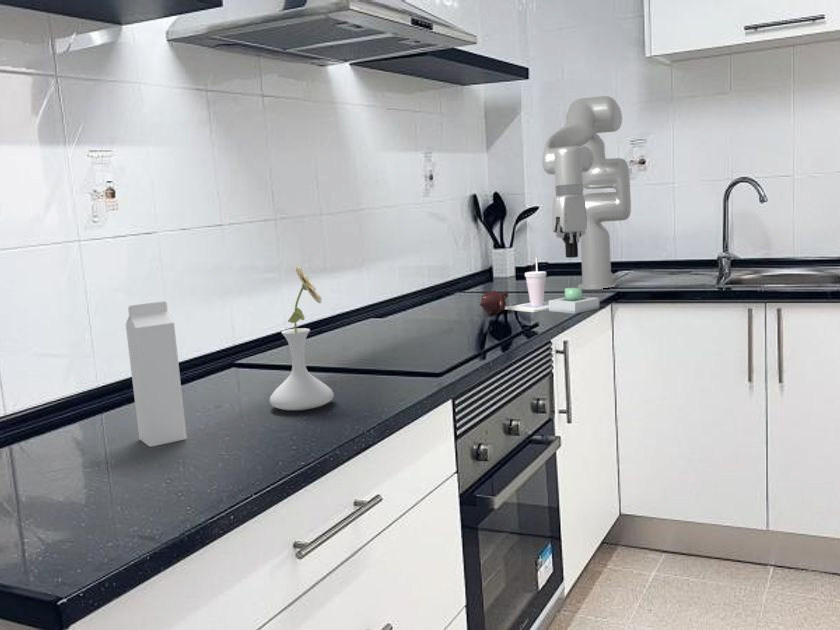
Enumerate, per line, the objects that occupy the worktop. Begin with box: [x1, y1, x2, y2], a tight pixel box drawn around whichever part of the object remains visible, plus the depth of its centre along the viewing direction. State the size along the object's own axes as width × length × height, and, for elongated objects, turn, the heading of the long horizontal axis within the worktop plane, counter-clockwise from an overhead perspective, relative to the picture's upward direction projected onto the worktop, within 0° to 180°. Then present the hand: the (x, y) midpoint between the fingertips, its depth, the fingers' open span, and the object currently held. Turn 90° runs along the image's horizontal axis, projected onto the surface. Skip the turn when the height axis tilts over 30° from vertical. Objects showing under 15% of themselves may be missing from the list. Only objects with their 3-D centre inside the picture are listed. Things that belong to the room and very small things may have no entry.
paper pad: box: [504, 301, 549, 313], centre depth 250 cm, size 14×12×1 cm
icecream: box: [479, 290, 509, 316], centre depth 243 cm, size 7×7×15 cm
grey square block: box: [548, 296, 600, 315], centre depth 241 cm, size 10×10×3 cm
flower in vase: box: [269, 265, 335, 411], centre depth 149 cm, size 13×11×25 cm
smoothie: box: [524, 257, 547, 306], centre depth 249 cm, size 6×6×14 cm
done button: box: [564, 286, 583, 301], centre depth 240 cm, size 5×5×4 cm
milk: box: [125, 300, 188, 448], centre depth 134 cm, size 6×6×22 cm
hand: (571, 257), depth 239 cm, fingers closed
